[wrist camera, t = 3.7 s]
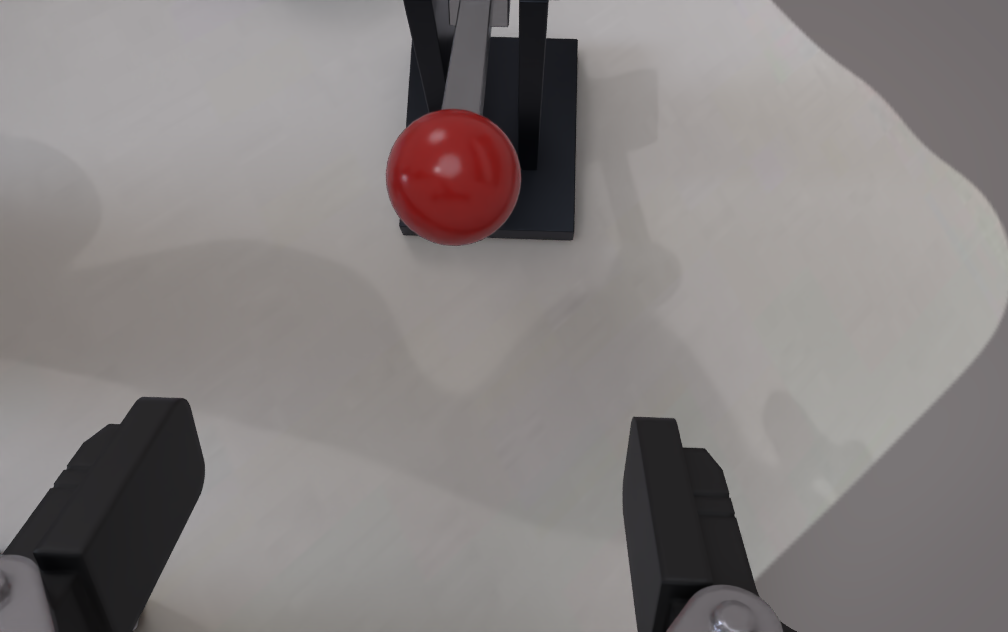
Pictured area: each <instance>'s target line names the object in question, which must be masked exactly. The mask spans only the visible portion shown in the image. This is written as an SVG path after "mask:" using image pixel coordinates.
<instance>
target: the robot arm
mask: <svg viewBox="0 0 1008 632" xmlns="http://www.w3.org/2000/svg"><path fill="white" fill-rule="evenodd" d="M204 477H205V464H204V458H203V454H202V450H201V446H200V442H199V438H198V435H197V431H196V427H195V423H194V419H193V415H192V411H191V407H190V405H189V403H188V401H187V400H186V399H184V398H162V397H141V398H139V399H138V400H137V401H136V402H135V404H134V405H133V406H132V408H131V409H130V411H129V412H128V414H127V415H126V417H125V418H124V420H123V421H122V422H121V424H108V425H107V426H106V427H104V428H103V429H102V430H100V431H99V432H97V433H96V434H95V435H93V436H92V437H91V438H89V439H88V440H87V441H85V442H84V443H83V444H82V446H81V447H80V448H79V450H78V451H77V452H76V454H75V455H74V457H73V458H72V459H71V461H70V462H69V463H68V465H67V470H63V472H62V473H61V474H60V476H59V477H58V479H57V480H56V481H55V483H54V488H50V490H49V491H48V492H47V494H46V495H45V497H44V498H43V499H42V501H41V502H40V503H39V505H38V506H37V508H36V509H35V510H34V512H33V513H32V514H31V516H30V517H29V519H28V520H27V521H26V523H25V524H24V525H23V527H22V528H21V530H20V531H19V532H18V534H17V535H16V537H15V538H14V539H13V541H12V542H11V543H10V545H9V546H8V548H7V549H6V550H5V552H4V553H3V554H2V556H0V632H132V631H133V629H134V627H135V625H136V623H137V621H138V619H139V617H140V615H141V613H142V611H143V609H144V607H145V605H146V603H147V601H148V599H149V597H150V595H151V593H152V591H153V589H154V587H155V585H156V583H157V581H158V579H159V577H160V575H161V573H162V571H163V569H164V567H165V565H166V563H167V561H168V559H169V557H170V555H171V553H172V551H173V549H174V547H175V545H176V543H177V541H178V539H179V537H180V535H181V533H182V531H183V529H184V527H185V525H186V523H187V521H188V518H189V516H190V514H191V512H192V510H193V508H194V506H195V504H196V502H197V500H198V498H199V496H200V494H201V491H202V488H203V483H204ZM734 514H735V512H734V509H733V505H732V502H731V498H729V491H728V487H727V484H726V480H725V477H724V473H723V470H722V469H721V467H720V466H719V465H718V464H717V463H716V461H715V460H714V459H713V458H712V457H711V455H710V454H709V453H708V452H707V451H706V449H705V448H683V447H682V443H681V439H680V434H679V430H678V425H677V422H676V420H675V419H674V418H653V417H633V419H632V422H631V428H630V435H629V442H628V450H627V457H626V464H625V471H624V479H623V516H624V524H625V532H626V541H627V549H628V557H629V565H630V573H631V581H632V590H633V598H634V606H635V614H636V622H637V630H638V632H797V631H794V630H793V629H791V628H789V627H788V626H786V625H785V624H783V623H782V622H780V621H779V619H778V617H777V615H776V614H775V612H774V611H773V609H771V607H770V606H769V605H768V604H767V603H766V602H765V601H764V600H762V599H761V598H760V597H759V595H758V592H757V590H756V586H755V583H754V579H753V576H752V572H751V569H750V565H749V562H748V558H747V555H746V551H745V548H744V544H743V540H742V537H741V533H740V530H739V526H738V523H737V519H736V518H735V516H734Z"/></svg>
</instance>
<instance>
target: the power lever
mask: <svg viewBox="0 0 1008 632" xmlns="http://www.w3.org/2000/svg"><path fill="white" fill-rule="evenodd" d="M448 11H449V25H450V26H455V31H454V37H453V43H452V49H451V55H450V61H449V67H448V74H447V80H446V86H445V92H444V98H443V104H442V110H437V111H433V112H430V113H428V114H425V115H423V116H421V117H420V118H418V119H416V120H415V121H413V122H412V123H411V124H410V125H409V126H408V127H407V128H405V129H404V130H403V132H402V133H401V134H400V135H399V137H398V138H397V140H396V141H395V143H394V145H393V147H392V149H391V152H390V155H389V158H388V161H387V169H386V185H387V191H388V195H389V198H390V201H391V204H392V206H393V208H394V210H395V212H396V213H397V215H398V217H399V218H400V219H401V220H402V222H403V223H404V224H405V225H406V226H407V227H408V228H409V229H410V230H412V231H413V232H414V233H416V234H417V235H419V236H420V237H422V238H424V239H426V240H428V241H431V242H433V243H437V244H441V245H448V246H461V245H468V244H472V243H475V242H478V241H481V240H483V239H484V238H486V237H488V236H490V235H491V234H493V233H494V232H496V231H497V230H498V229H499V228H500V227H501V226H502V225H503V224H504V223H505V222H506V221H507V219H508V218H509V217H510V215H511V213H512V212H513V210H514V208H515V206H516V203H517V200H518V197H519V194H520V188H521V167H520V163H519V159H518V155H517V153H516V150H515V148H514V146H513V144H512V142H511V141H510V139H509V138H508V136H507V135H506V134H505V133H504V131H503V130H502V129H501V128H500V127H499V126H498V125H496V124H495V123H494V122H492V121H491V120H490V119H488V118H486V117H484V116H483V106H484V96H485V86H486V77H487V67H488V57H489V47H490V37H491V27H508V25H509V12H510V0H448Z"/></svg>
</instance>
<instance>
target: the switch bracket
mask: <svg viewBox="0 0 1008 632" xmlns="http://www.w3.org/2000/svg"><path fill="white" fill-rule="evenodd" d="M403 1H404V6H405V10H406V15H407V19H408V23H409V28H410V32H411V36H412V48H411V63H410V77H409V92H408V107H407V121H406V128H407V127H408V126H409V125H410V124H411V123H412V122H413V121H415V120H416V119H418V118H420V117H421V116H423V115H425V114H428V113H430V112H433V111H437V110H442V104H443V98H444V92H445V86H446V80H447V74H448V67H449V61H450V55H451V49H452V43H453V37H454V31H455V26H450V25H449V11H448V0H403ZM548 2H549V0H519V38H511V37H490V47H489V57H488V67H487V77H486V86H485V96H484V106H483V116H484V117H486V118H488V119H490V120H491V121H492V122H494V123H495V124H496V125H498V126H499V127H500V128H501V129H502V130H503V131H504V133H505V134H506V135H507V136H508V138H509V139H510V141H511V142H512V144H513V146H514V148H515V150H516V153H517V155H518V159H519V163H520V167H521V188H520V194H519V197H518V200H517V203H516V206H515V208H514V210H513V212H512V213H511V215H510V217H509V218H508V219H507V221H506V222H505V223H504V224H503V225H502V226H501V227H500V228H499V229H498V230H497V231H496V232H494V233H493V234H491V235H490V236H488V237H486V238H518V239H551V240H572V239H573V234H574V215H575V160H576V104H577V49H578V40H577V39H551V38H546V31H547V17H548ZM399 227H400V229H401V231H402V233H403V235H417V234H416V233H414V232H413V231H412V230H410V229H409V228H408V227H407V226H406V225H405V224H404V223H403V222H402V220H401V219H400V223H399Z"/></svg>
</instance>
